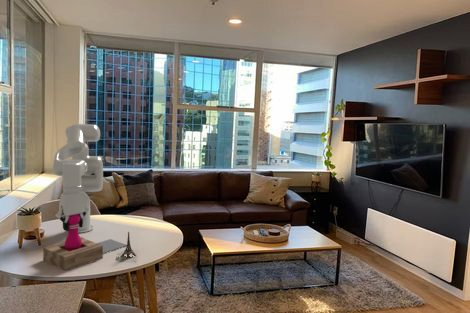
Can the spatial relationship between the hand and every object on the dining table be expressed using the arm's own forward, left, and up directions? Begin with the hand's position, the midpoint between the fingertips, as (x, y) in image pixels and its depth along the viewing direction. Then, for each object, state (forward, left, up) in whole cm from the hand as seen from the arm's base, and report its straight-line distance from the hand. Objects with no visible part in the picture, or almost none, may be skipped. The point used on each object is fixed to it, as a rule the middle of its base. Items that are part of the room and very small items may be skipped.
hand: (73, 228), depth 159 cm
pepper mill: (0, 0, -12) cm, 12 cm away
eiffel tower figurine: (+16, +17, -15) cm, 28 cm away
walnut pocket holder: (0, 0, -14) cm, 14 cm away
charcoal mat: (-2, +19, -14) cm, 24 cm away
